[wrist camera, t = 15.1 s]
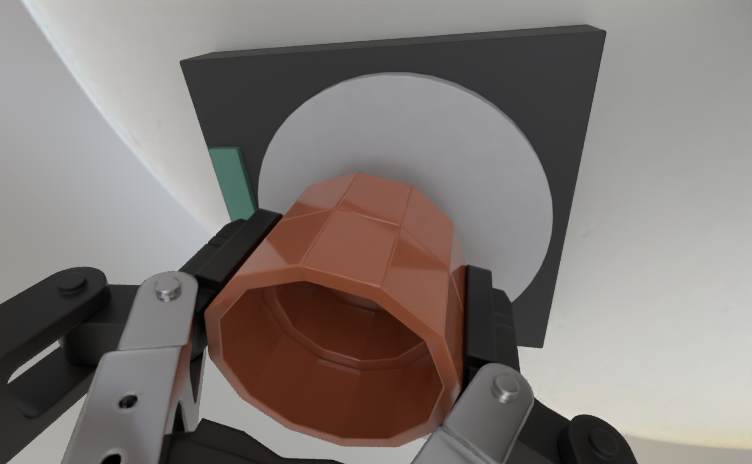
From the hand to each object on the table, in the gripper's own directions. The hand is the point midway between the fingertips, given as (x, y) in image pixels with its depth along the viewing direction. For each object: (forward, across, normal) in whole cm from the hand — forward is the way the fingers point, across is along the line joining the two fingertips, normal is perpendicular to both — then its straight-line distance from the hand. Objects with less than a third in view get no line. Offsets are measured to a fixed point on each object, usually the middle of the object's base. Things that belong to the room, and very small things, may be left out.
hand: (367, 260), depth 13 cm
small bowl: (+1, 0, 0) cm, 1 cm away
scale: (+4, 0, 0) cm, 4 cm away
